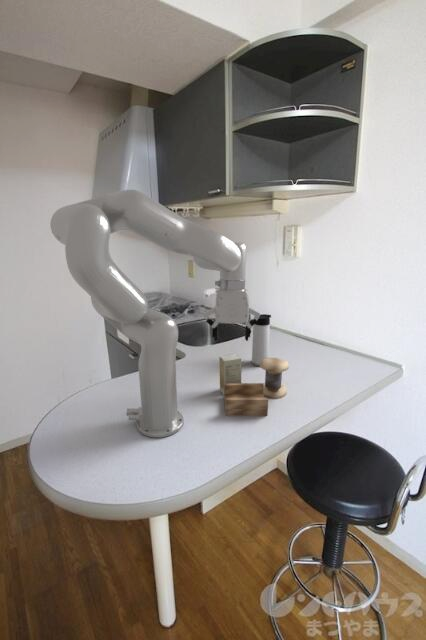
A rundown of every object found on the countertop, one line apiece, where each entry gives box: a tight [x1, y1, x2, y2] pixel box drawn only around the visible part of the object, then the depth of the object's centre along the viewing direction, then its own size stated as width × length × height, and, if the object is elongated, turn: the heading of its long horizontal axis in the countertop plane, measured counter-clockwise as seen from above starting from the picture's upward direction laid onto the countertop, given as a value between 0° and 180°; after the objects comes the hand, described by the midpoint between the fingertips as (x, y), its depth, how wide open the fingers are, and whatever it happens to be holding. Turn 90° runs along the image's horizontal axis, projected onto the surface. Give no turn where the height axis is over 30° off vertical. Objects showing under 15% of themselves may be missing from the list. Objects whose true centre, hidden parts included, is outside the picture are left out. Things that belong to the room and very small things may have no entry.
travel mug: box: [251, 313, 272, 368], centre depth 122 cm, size 6×7×20 cm
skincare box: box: [219, 353, 242, 396], centre depth 102 cm, size 6×4×12 cm
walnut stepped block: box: [223, 382, 269, 417], centre depth 95 cm, size 12×10×5 cm
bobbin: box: [260, 357, 290, 399], centre depth 103 cm, size 9×9×10 cm
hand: (231, 339), depth 99 cm, fingers open, 9 cm apart
